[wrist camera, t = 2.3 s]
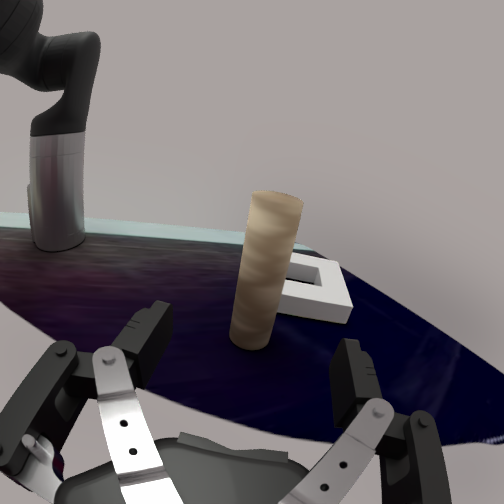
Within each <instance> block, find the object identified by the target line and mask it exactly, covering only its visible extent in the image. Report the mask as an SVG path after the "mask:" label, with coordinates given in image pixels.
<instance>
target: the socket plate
mask: <svg viewBox="0 0 504 504" xmlns="http://www.w3.org/2000/svg"><path fill="white" fill-rule="evenodd" d="M286 278H291V279H296V280H301V281H306V282H312V283H314V285H310V284H305V283H300V282H295V281H290V280H285V283H284V287H283V290H282V294H281V298H280V302H279V306H278V309H277V312H280V313H285V314H290V315H296V316H301V317H307V318H313V319H319V320H325V321H331V322H337V323H344V324H346V322H347V320H348V317H349V315H350V313H351V310H352V308H353V306H352V303H351V299H350V296H349V293H348V290H347V287H346V284H345V281H344V278H343V276H342V273H341V270H340V267H339V264H338V262H336V261H332V260H327V259H322V258H317V257H312V256H307V255H302V254H297V253H292V255H291V259H290V263H289V267H288V271H287V275H286Z"/></svg>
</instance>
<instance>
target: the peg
mask: <svg viewBox="0 0 504 504" xmlns="http://www.w3.org/2000/svg"><path fill="white" fill-rule="evenodd" d="M302 208H303V201H302V200H300V199H298V198H296V197H294V196H291V195H287V194H283V193H279V192H274V191H262V190H261V191H255V192H253V193H252V199H251V205H250V210H249V216H248V223H247V229H246V234H245V240H244V246H243V252H242V258H241V264H240V271H239V277H238V283H237V289H236V295H235V301H234V308H233V314H232V320H231V327H230V333H229V336H230V339H231V341H232V342H233V343H234V344H235V345H237V346H238V347H240V348H243V349H246V350H258V349H261V348H263V347H265V346H266V345H267V344H268V342H269V339H270V335H271V331H272V328H273V324H274V321H275V317H276V313H277V309H278V306H279V302H280V298H281V294H282V290H283V287H284V283H285V279H286V275H287V271H288V267H289V263H290V259H291V255H292V251H293V247H294V242H295V238H296V234H297V230H298V226H299V221H300V217H301V212H302Z"/></svg>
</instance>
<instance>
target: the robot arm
mask: <svg viewBox="0 0 504 504" xmlns="http://www.w3.org/2000/svg"><path fill="white" fill-rule="evenodd" d="M42 15H43V0H0V73H1V74H5V75H9V76H12V77H14V78H16V79H18V80H19V81H21V82H23V83H24V84H26V85H27V86H29V87H31V88H33V89H35V90H37V91H41V92H42V91H43V92H49V91H58V90H64V93H63V95H62V97H61V99H60V100H59V101H58V102H57V103H56V104H55V105H54V106H52V107H51V108H50V109H48V110H46V111H45V112H43V113H41V114H39V115H37V116H36V117H35V118H34V119H33V120H32V123H31V131H30V132H31V133H30V136H31V137H30V184H29V185H28V187H27V193H28V207H29V218H30V226H31V234H32V241H34V242H36V246H37V247H38V248H39V249H41V250H45V251H61V250H66V249H69V248H72V247H75V246H77V245H78V244H80V243H81V242H82V241H83V240H84V238H85V228H84V206H83V165H84V143H85V129H86V121H87V116H88V111H89V105H90V98H91V93H92V87H93V83H94V78H95V75H96V71H97V66H98V62H99V57H100V48H101V43H100V38H99V36H98V35H97V34H96V33H95V32H79V33H72V34H66V35H60V36H55V37H47V36H44V35H42V34H40V33H39V32H38V30H39V27H40V23H41V19H42ZM172 332H173V307H172V304H169V303H165V302H161V301H155V303H154V304H153V305H152V307H151V308H150V309H147V308H143V309H142V310H140V311H138V312H136V313H135V314H134V316H133V317H132V318H131V320H130V321H129V322H128V324H127V325H126V327H124V329H123V330H122V331H121V333H120V334H119V335H118V337H117V338H116V339H115V341H114V342H113V343H112V345H111V346H106V347H102V348H100V349H98V350H97V351H96V352H95V353H85V352H77V351H76V348H75V346H74V345H73V344H72V343H71V342H69V341H65V340H62V341H57V342H55V343H53V344H52V345H50V347H49V348H48V349H47V350H46V352H45V353H44V354H43V355H42V357H41V358H40V359H39V361H38V362H37V363H36V364H35V365H34V367H33V368H32V369H31V371H30V372H29V374H28V375H27V376H26V377H25V379H24V380H23V381H22V383H21V384H20V386H19V387H18V388H17V390H16V391H15V393H14V394H13V395H12V397H11V398H10V400H9V401H8V403H7V404H6V406H5V407H4V409H3V410H2V412H1V413H0V471H1V472H2V473H3V474H4V475H5V476H7V477H8V478H9V479H11V480H12V481H14V482H15V483H16V484H18V485H21V486H22V487H24V488H25V489H27V490H28V491H31V492H35V493H36V494H37V495H39V496H41V497H42V498H44V499H45V500H47V501H49V502H50V503H52V504H339V502H340V501H341V500H342V499H343V498H344V496H345V495H346V494H347V492H348V491H349V490H350V488H351V487H352V486H353V485H354V483H355V482H356V481H357V479H358V478H359V476H360V475H361V474H362V472H363V471H364V469H365V468H366V466H367V465H368V463H369V462H370V460H371V458H372V457H373V456H374V454H376V455H379V459H380V471H381V488H382V504H452V502H451V494H450V488H449V482H448V476H447V471H446V466H445V462H444V456H443V452H442V448H441V443H440V439H439V435H438V431H437V428H436V424H435V421H434V419H433V417H432V416H431V415H430V414H429V413H427V412H425V411H415V412H414V413H413V414H412V415H411V416H410V417H409V416H405V415H402V414H398V413H395V412H394V410H393V408H392V406H391V405H390V404H389V403H388V402H387V401H385V400H383V399H382V395H381V391H380V387H379V384H378V380H377V376H376V373H375V369H374V365H373V362H372V359H371V358H370V356H369V355H368V354H367V353H366V352H365V351H361V348H360V345H359V341H358V340H353V339H345V338H342V339H341V341H340V343H339V345H338V347H337V349H336V352H335V354H334V356H333V358H332V360H331V363H330V367H329V377H330V386H331V395H332V405H333V416H334V428H343V433H342V435H341V436H340V437H339V438H338V439H337V441H336V442H335V443H334V444H333V445H332V447H331V448H330V449H329V450H328V451H327V452H326V453H325V455H324V456H323V457H322V458H321V459H320V460H319V461H318V462H317V463H316V465H315V466H314V467H313V468H312V469H311V470H310V471H309V470H308V469H306V468H305V467H304V466H302V465H301V464H299V463H297V462H295V461H293V460H290V459H288V452H282V451H274V450H266V449H254V450H231V449H229V448H226V447H224V446H222V445H220V444H217V443H215V442H213V441H211V440H209V439H206V438H202V437H199V436H195V435H191V434H187V433H184V432H180V435H179V438H162V439H158V440H155V441H153V440H152V437H151V435H150V433H149V430H148V427H147V424H146V422H145V419H144V417H143V413H142V411H141V408H140V405H139V402H138V399H137V396H136V393H135V389H136V387H137V388H140V389H143V390H144V389H145V387H146V385H147V383H148V381H149V379H150V378H151V376H152V374H153V372H154V370H155V368H156V366H157V364H158V362H159V361H160V359H161V357H162V355H163V353H164V351H165V349H166V347H167V346H168V344H169V342H170V340H171V337H172ZM88 398H89V399H96V400H97V402H98V407H99V411H100V416H101V420H102V424H103V429H104V432H105V436H106V440H107V444H108V447H109V451H110V454H111V457H112V461H109V462H107V463H105V464H102V465H101V466H98V467H95V468H93V469H90V470H88V471H86V472H83V473H80V474H78V475H75V476H72V477H70V478H68V479H66V480H65V481H64V478H63V470H64V460H63V457H62V455H61V454H60V451H61V449H62V447H63V445H64V443H65V441H66V439H67V437H68V435H69V433H70V431H71V429H72V428H73V426H74V423H75V422H76V420H77V418H78V416H79V414H80V412H81V411H82V408H83V407H84V405H85V403H86V401H87V400H88Z"/></svg>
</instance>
